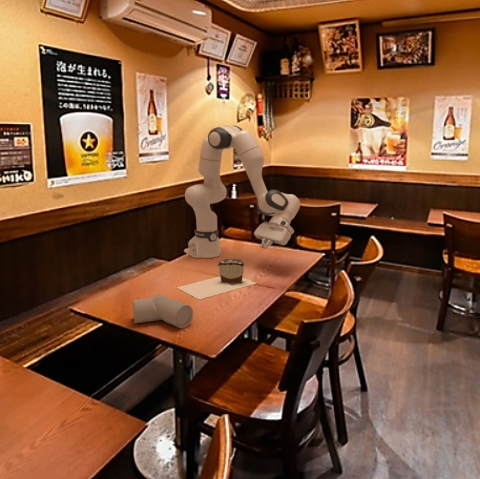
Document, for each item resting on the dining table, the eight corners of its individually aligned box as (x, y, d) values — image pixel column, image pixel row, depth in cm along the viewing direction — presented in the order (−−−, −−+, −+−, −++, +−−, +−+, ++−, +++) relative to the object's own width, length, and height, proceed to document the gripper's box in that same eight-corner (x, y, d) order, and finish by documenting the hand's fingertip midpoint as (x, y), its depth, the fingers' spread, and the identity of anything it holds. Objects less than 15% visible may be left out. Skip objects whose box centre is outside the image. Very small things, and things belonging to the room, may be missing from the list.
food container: (246, 279, 209) (246, 258, 207) (245, 283, 203) (245, 262, 201) (219, 278, 210) (219, 257, 208) (217, 283, 204) (217, 261, 202)
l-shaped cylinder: (185, 305, 177) (132, 312, 171) (185, 282, 172) (131, 288, 166) (195, 333, 162) (138, 342, 156) (196, 309, 157) (137, 317, 151)
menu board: (176, 287, 199) (176, 287, 199) (232, 273, 218) (232, 273, 218) (199, 299, 186) (199, 299, 185) (256, 283, 204) (256, 283, 204)
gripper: (260, 217, 224) (245, 239, 221) (290, 224, 209) (274, 248, 205) (267, 225, 228) (252, 247, 224) (296, 232, 213) (281, 255, 209)
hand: (263, 247), depth 215 cm, fingers closed
